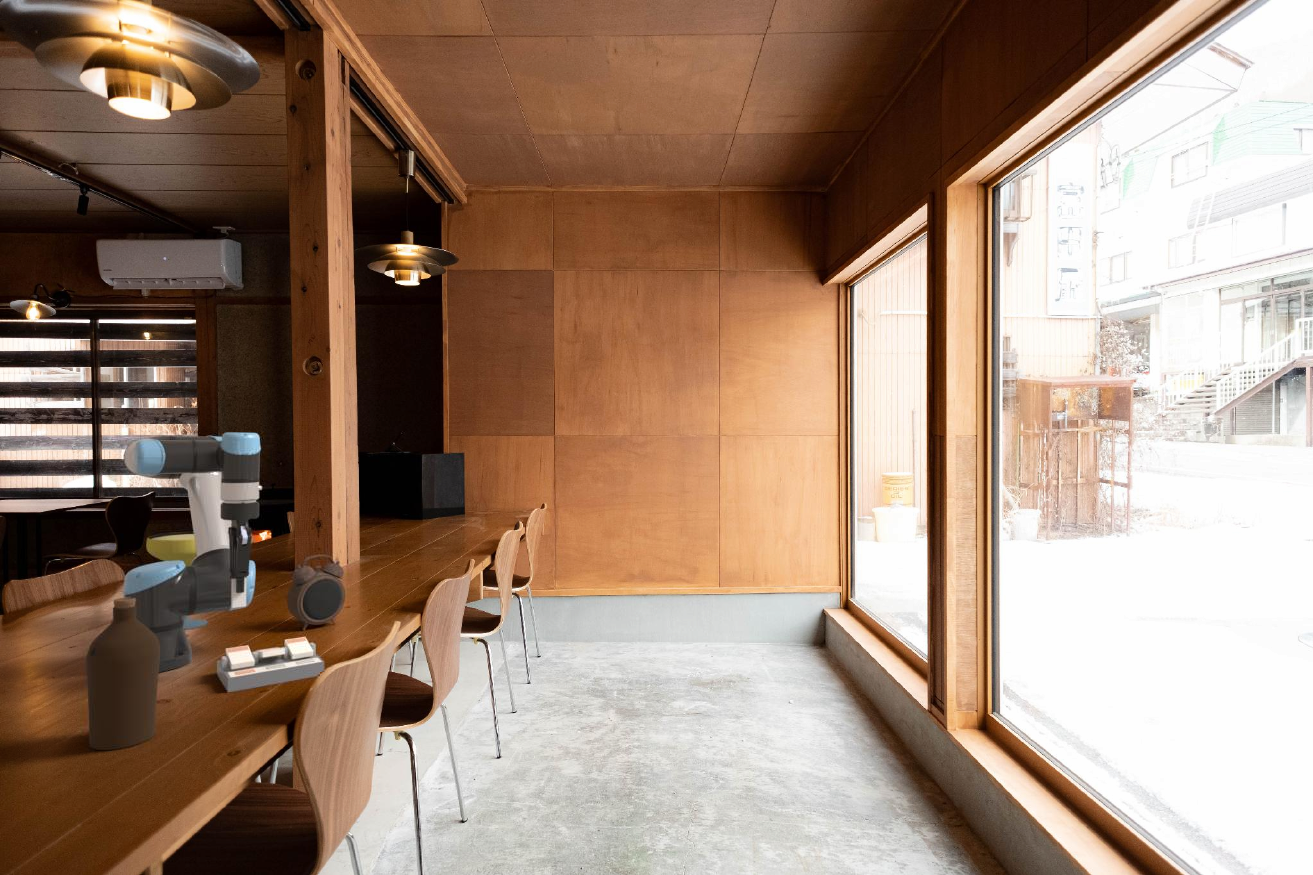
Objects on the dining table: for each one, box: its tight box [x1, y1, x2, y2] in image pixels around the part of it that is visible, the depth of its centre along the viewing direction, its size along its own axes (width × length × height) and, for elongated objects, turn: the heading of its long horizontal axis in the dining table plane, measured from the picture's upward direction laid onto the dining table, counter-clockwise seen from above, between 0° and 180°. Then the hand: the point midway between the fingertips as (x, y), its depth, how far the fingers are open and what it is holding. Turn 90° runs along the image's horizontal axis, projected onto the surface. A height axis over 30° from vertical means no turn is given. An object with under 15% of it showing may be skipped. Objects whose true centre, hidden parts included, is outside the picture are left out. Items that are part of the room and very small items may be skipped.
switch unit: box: [216, 642, 325, 693], centre depth 164 cm, size 19×14×5 cm
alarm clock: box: [286, 554, 346, 631], centre depth 204 cm, size 15×7×20 cm, turn 143°
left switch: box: [225, 645, 255, 670], centre depth 161 cm, size 4×8×1 cm, turn 39°
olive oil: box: [85, 596, 160, 751], centre depth 129 cm, size 11×11×25 cm
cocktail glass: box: [145, 531, 208, 631], centre depth 202 cm, size 18×18×25 cm
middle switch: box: [255, 647, 285, 657], centre depth 165 cm, size 4×8×1 cm, turn 39°
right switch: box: [284, 636, 313, 659], centre depth 169 cm, size 4×8×1 cm, turn 39°
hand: (238, 606), depth 163 cm, fingers closed
